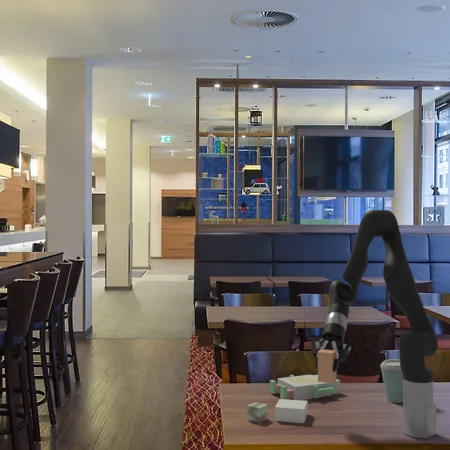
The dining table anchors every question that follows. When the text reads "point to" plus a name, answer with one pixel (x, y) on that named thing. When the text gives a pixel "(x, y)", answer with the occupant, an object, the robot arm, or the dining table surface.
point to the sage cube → (257, 412)
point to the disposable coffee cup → (393, 380)
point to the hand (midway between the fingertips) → (325, 369)
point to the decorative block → (303, 387)
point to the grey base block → (291, 411)
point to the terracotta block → (326, 366)
